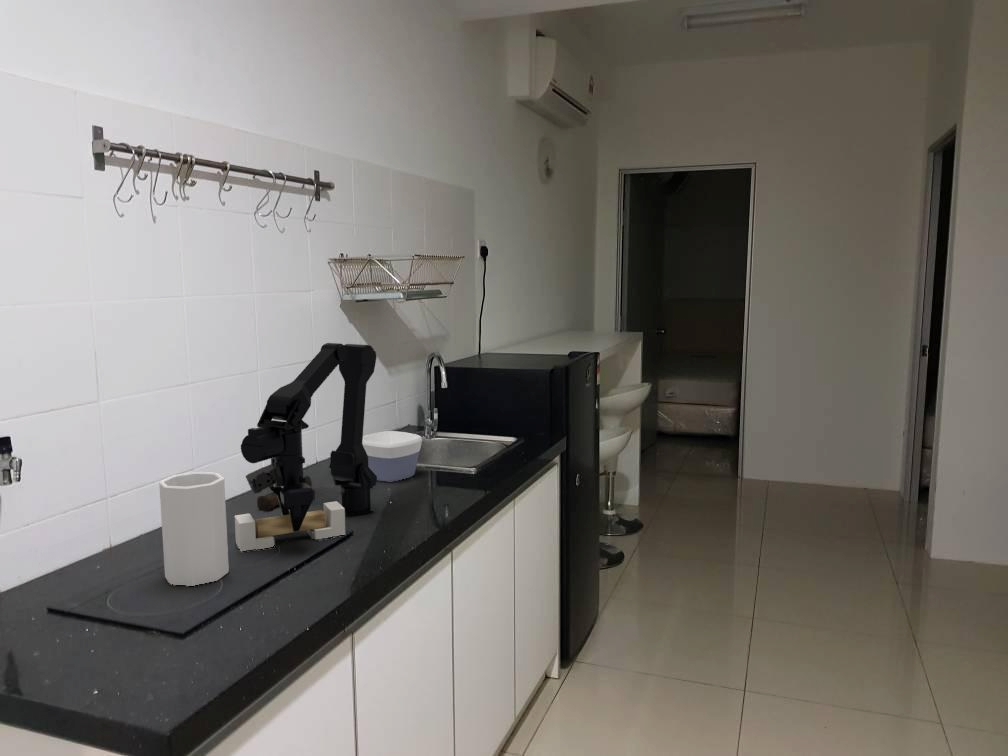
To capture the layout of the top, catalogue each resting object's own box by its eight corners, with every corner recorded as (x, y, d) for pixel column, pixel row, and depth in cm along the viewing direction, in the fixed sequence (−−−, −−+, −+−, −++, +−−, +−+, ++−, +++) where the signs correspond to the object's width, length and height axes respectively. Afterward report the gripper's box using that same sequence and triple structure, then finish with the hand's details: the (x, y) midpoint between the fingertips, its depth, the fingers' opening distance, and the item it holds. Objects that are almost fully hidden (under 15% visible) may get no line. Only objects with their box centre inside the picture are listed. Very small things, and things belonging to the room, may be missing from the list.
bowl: (390, 466, 224) (389, 429, 223) (430, 474, 215) (429, 435, 214) (350, 477, 212) (349, 438, 210) (391, 487, 203) (390, 445, 201)
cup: (190, 592, 136) (184, 491, 133) (151, 579, 142) (145, 481, 139) (241, 571, 145) (237, 476, 143) (203, 560, 151) (198, 468, 149)
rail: (322, 532, 168) (321, 509, 167) (325, 536, 165) (325, 513, 164) (255, 542, 161) (254, 519, 160) (258, 547, 158) (257, 523, 158)
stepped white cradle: (337, 526, 171) (336, 500, 170) (345, 536, 165) (345, 509, 164) (235, 542, 161) (234, 515, 160) (241, 553, 155) (239, 524, 154)
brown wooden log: (269, 513, 181) (268, 494, 181) (256, 511, 183) (255, 492, 182) (320, 492, 198) (319, 475, 198) (307, 490, 200) (307, 473, 199)
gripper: (240, 447, 165) (243, 518, 167) (256, 467, 148) (260, 544, 151) (292, 442, 170) (295, 510, 172) (314, 460, 154) (316, 535, 156)
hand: (291, 524), depth 163 cm, fingers open, 9 cm apart
